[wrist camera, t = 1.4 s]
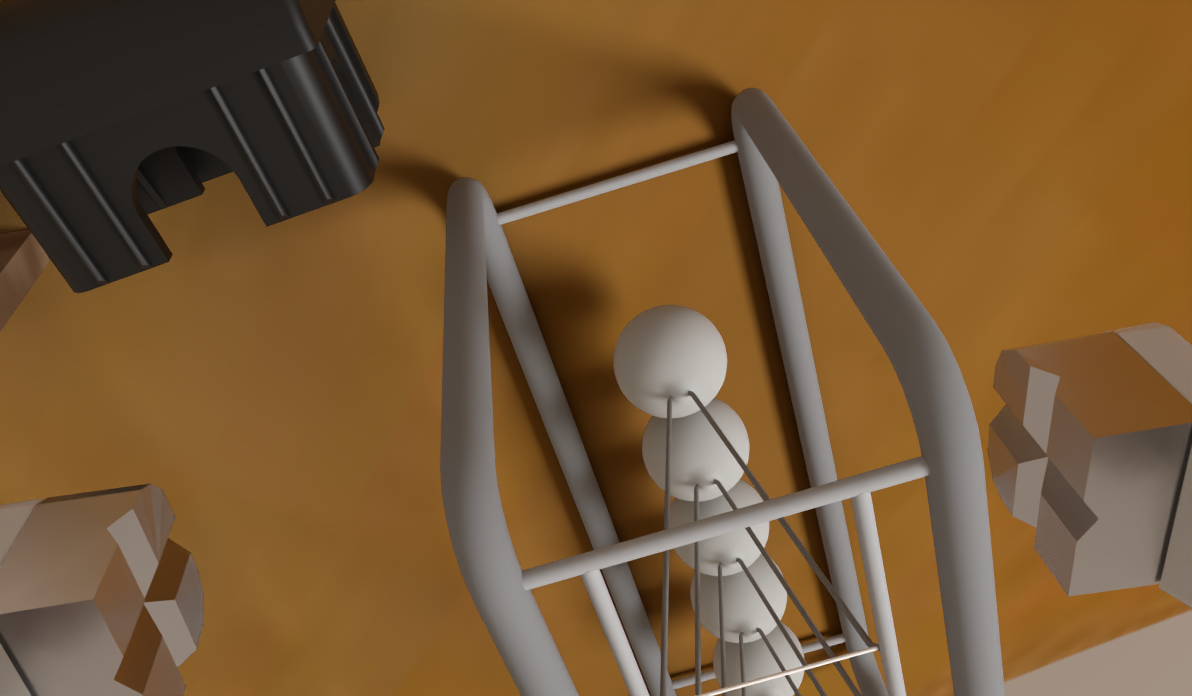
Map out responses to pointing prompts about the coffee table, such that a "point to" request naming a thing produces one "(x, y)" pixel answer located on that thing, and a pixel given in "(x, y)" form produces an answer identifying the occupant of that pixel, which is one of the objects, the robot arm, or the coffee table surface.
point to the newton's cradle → (716, 453)
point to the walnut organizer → (18, 269)
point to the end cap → (173, 118)
